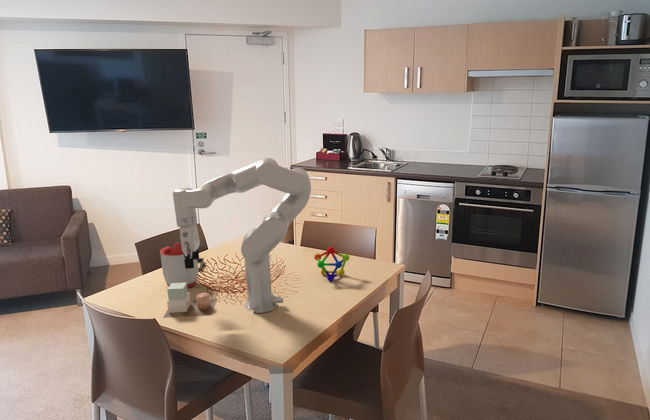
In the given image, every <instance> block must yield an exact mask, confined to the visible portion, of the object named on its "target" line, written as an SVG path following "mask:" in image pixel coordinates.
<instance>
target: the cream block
mask: <svg viewBox="0 0 650 420" xmlns="http://www.w3.org/2000/svg"><path fill="white" fill-rule="evenodd" d="M190 300H191V296H190V292H188V294H187V295H186V297H185V299H182V300H169V299H168V298H167V300H166V304H167V310H168V313H173V312H187V310H188V308H189V306H190Z"/></svg>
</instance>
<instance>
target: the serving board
mask: <svg viewBox="0 0 650 420" xmlns="http://www.w3.org/2000/svg"><path fill="white" fill-rule="evenodd" d="M217 301H218V298H210V308H209V309H206V310H199V309H198V308H197V299H190V306H189V308H188V310H187V312H173V313H168V309H167V310H166V311H165V313H164V314H163V317H162V318H185V317H201V316H202V317H204V316H211V315H212V313H213V312H214V308H215V306H216V304H217Z"/></svg>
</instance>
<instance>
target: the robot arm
mask: <svg viewBox="0 0 650 420" xmlns="http://www.w3.org/2000/svg"><path fill="white" fill-rule="evenodd" d="M262 185H263V186H266V187H268V188H271V189H274V190H276V191H280V192H283V193H284V194H285V195H284V196H283V197H282V199H281V200H280V201H279V202H278V203H276V205H275V206H274V207H273V208H272V209H271V210H270V211H269V212H267V213H266V215H265V216H264V217H263V220H262V223H261V224H260V225H259V226H258V227H257V228H252V229H249V230H248V231H246V234H245V235H244V237H243V240H242V243H241V247H240V251H241V254H242V255H241V256H242V257H243V258H244V269H245V270H244V271H245V282H246V283H245V284H246V293H247V295H246V296H247V301H246V302H245V303H244V305H243V306H244V308H245V309H246V310H249V311H253V314H264V313H267V312H270V311H273V310H274V309H275V308H277V304H278V303H279V304H283V303H284V297H281V295H277V296H276V295H274V292H272V279H271V276H272V275H271V262H270V261H271V260H270V259H271V258H270V253H271V252H272V251H273V250H274V249H275V248H276V247H277V245H278V246H279V244H280V243H281V242H282V241H283V239H284V238H285V237H286V235H287V233H288V227H289V226H290V224H291V223H292V222H293V221H294V220H295V219H296V217H298V215H299V214H301V213H302V211H303V210H304V209H305V207H306V206H307V205H308V202H309V200H310V197H311V191H312V185H311V179H310V175H309V174H308V172H307V171H306V170H305V169H304V168H302V167H294V168H291V169H289V168H286V167H283V166H280V165H279V163H278V162H277V161H276V160H275V159H273V158H272V157H271V158H269V157H266V158H263V159H260V160H258V161H256V162H253V163H251V164H248V165H246V166H243V167H241V168H238V169H236V170H234V171H231V172H229V173H226V174H224V175H221V176H219V177H216V178H213V179H211V180H209V181H207V182H204V183H203V184H201V185H199V186H198V188H197V189H192V188H191V187H180V188H176V189H174V190H173V191H172V200H173V206H174V213H175V220H176V227H178V228H179V233H180V235H179V236H180V244H181V246H182V251H183V253H184V262H185V268H186V269H190V268H194V262H193V260H197V259H199V258H200V254H199V247H200V245H201V243H200V241H201V240H200V236H199V230H198V226H197V225H198V217H197V210H196V209H207V208H209V207H211V206H212V204H213V203H214V201H216V200H218V199H220V198H223V197H225V196H228V195H230V194H234V193H239V194H243V193H245V192H248V191H250V190H252V189H255V188H257V187H261V186H262ZM189 253H190V255H189Z"/></svg>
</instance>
